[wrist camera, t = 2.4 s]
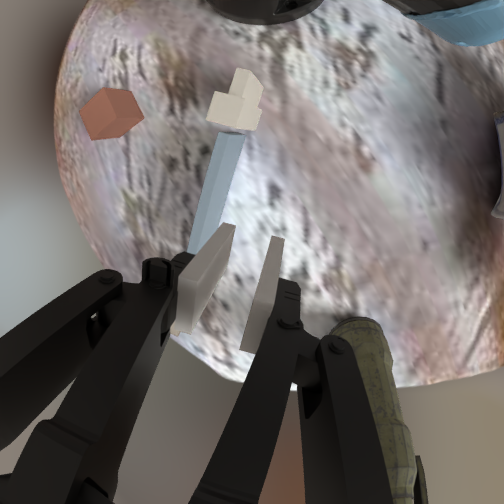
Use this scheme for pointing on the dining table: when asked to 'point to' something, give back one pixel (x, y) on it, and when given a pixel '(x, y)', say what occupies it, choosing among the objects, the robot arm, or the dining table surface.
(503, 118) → the potted plant
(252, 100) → the doorframe
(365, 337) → the thermos
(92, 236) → the dining table surface
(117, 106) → the reddish brown block
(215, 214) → the door
